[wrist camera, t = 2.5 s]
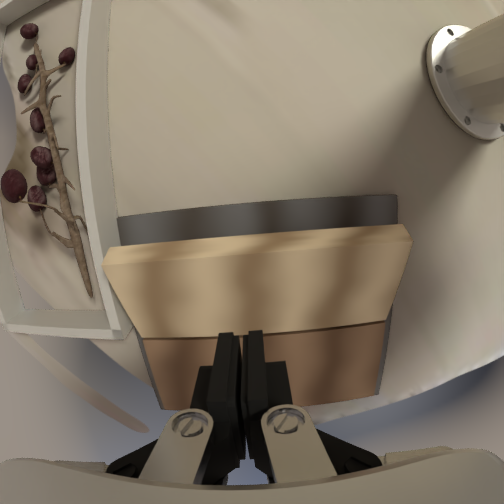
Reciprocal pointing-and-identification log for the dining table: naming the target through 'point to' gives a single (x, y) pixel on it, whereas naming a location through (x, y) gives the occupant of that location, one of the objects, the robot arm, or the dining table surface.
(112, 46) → the dining table surface
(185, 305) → the oak plank
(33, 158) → the decorative branch
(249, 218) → the walnut floor board
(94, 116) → the branch tray
